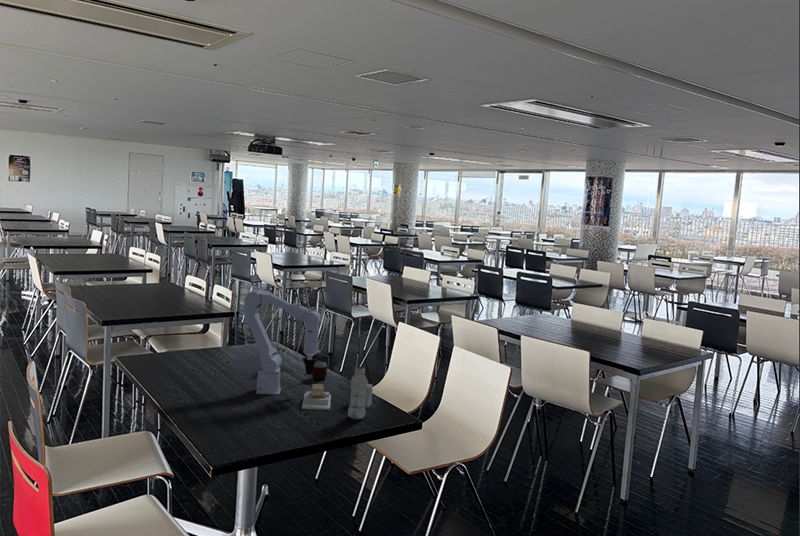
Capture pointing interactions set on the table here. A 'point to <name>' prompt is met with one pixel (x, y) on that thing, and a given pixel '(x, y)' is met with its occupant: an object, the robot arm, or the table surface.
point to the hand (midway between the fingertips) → (309, 371)
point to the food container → (282, 354)
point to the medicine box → (368, 395)
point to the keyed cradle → (316, 401)
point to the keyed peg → (318, 391)
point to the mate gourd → (319, 370)
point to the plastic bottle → (358, 394)
